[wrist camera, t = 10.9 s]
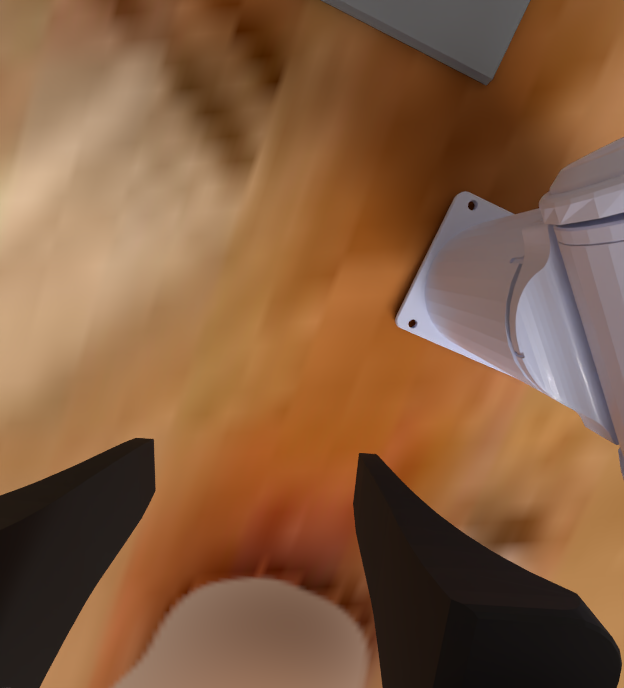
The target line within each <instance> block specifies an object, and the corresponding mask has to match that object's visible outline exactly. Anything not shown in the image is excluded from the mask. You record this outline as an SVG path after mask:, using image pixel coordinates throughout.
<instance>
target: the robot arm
mask: <svg viewBox="0 0 624 688" xmlns="http://www.w3.org/2000/svg"><path fill="white" fill-rule="evenodd" d="M470 201H471V202H473V203H474V209H473V210H470V209H469V208H468V203H469V202H470ZM412 319H414V320H415V322H416V323H415V325H414V326H413V327H409V325H408V323H409V321H410V320H412ZM395 322H396V324H397V326H399V327H400V328H402V329H404V330H406V331H409V332H411V333H413V334H416V335H418V336H420V337H422V338H425V339H427V340H429V341H432V342H434V343H436V344H439V345H441V346H443V347H445V348H448V349H450V350H452V351H455V352H457V353H459V354H462V355H464V356H466V357H468V358H471V359H473V360H475V361H478V362H480V363H482V364H485V365H487V366H489V367H491V368H494V369H496V370H498V371H501V372H503V373H505V374H508V375H510V376H512V377H514V378H517V379H519V380H521V381H523V382H524V383H526V384H528V385H530V386H532V387H533V388H535V389H537V390H539V391H541V392H542V393H544V394H546V395H548V396H550V397H551V398H553V399H555V400H556V401H558V402H560V403H562V404H564V405H565V406H567V407H569V408H571V409H573V410H575V411H576V412H577V413H578V414H579V416H580V417H581V418H582V421H583V423H584V425H585V426H586V427H587V428H589V429H590V430H592V431H594V432H595V433H597V434H599V435H600V436H602V437H604V438H605V439H607V440H609V441H611V442H612V443H614V444H616V445H620V448H619V450H618V453H619V459H620V466H621V473H622V476H623V479H624V137H622V138H620V139H618V140H616V141H614V142H612V143H610V144H608V145H606V146H604V147H602V148H600V149H598V150H596V151H594V152H592V153H590V154H588V155H586V156H584V157H582V158H580V159H578V160H576V161H575V162H573V163H571V164H569V165H568V166H566V167H564V168H563V169H562V170H561V171H560V172H559V174H558V175H557V177H556V179H555V180H554V182H553V184H552V185H551V187H550V191H549V192H547V193H546V194H544V195H543V196H542V198H541V199H540V201H539V208H538V209H534V210H530V211H526V212H522V213H518V214H513V213H511V212H509V211H507V210H505V209H503V208H501V207H499V206H497V205H495V204H492V203H490V202H488V201H486V200H484V199H482V198H480V197H478V196H476V195H474V194H472V193H470V192H466V191H465V192H461V193H459V194H457V195H456V196H455V198H454V199H453V201H452V203H451V205H450V207H449V209H448V211H447V213H446V215H445V217H444V220H443V222H442V224H441V226H440V228H439V230H438V232H437V234H436V236H435V238H434V240H433V242H432V244H431V246H430V248H429V250H428V252H427V254H426V256H425V258H424V260H423V262H422V264H421V266H420V268H419V270H418V272H417V275H416V277H415V279H414V281H413V283H412V285H411V287H410V289H409V291H408V293H407V295H406V297H405V299H404V301H403V303H402V305H401V307H400V309H399V311H398V313H397V315H396V318H395ZM154 493H155V463H154V439H145V438H135V439H132V440H129V441H127V442H124V443H122V444H120V445H118V446H116V447H113V448H111V449H109V450H107V451H105V452H103V453H101V454H99V455H96V456H94V457H92V458H90V459H88V460H86V461H84V462H82V463H79V464H77V465H75V466H73V467H70V468H68V469H66V470H64V471H61V472H59V473H57V474H54V475H52V476H50V477H48V478H45V479H43V480H40V481H38V482H36V483H33V484H30V485H28V486H25V487H23V488H20V489H17V490H14V491H12V492H9V493H6V494H3V495H0V688H39V687H40V686H41V684H42V682H43V680H44V678H45V676H46V674H47V672H48V670H49V668H50V666H51V665H52V663H53V661H54V659H55V657H56V655H57V653H58V651H59V650H60V648H61V646H62V644H63V642H64V640H65V638H66V636H67V635H68V633H69V631H70V629H71V627H72V626H73V624H74V622H75V620H76V619H77V617H78V615H79V613H80V611H81V610H82V608H83V606H84V604H85V603H86V601H87V599H88V597H89V596H90V594H91V593H92V591H93V590H94V588H95V586H96V585H97V583H98V582H99V580H100V579H101V577H102V576H103V574H104V573H105V571H106V570H107V569H108V567H109V566H110V564H111V563H112V561H113V560H114V558H115V557H116V555H117V554H118V552H119V551H120V550H121V548H122V547H123V545H124V544H125V542H126V541H127V539H128V538H129V536H130V535H131V533H132V532H133V530H134V529H135V527H136V526H137V524H138V523H139V521H140V520H141V518H142V516H143V515H144V513H145V511H146V509H147V507H148V505H149V503H150V501H151V499H152V497H153V495H154ZM353 507H354V518H355V527H356V534H357V539H358V544H359V548H360V553H361V557H362V562H363V566H364V571H365V575H366V580H367V584H368V589H369V594H370V598H371V603H372V609H373V614H374V621H375V629H376V636H377V644H378V652H379V660H380V668H381V677H382V685H383V688H617V685H618V682H619V678H620V673H621V667H622V661H621V655H620V650H619V648H618V646H617V644H616V643H615V641H614V639H613V638H612V636H611V635H610V634H609V633H608V631H607V630H606V629H605V628H604V626H603V625H602V624H601V623H600V621H599V620H598V619H597V618H596V616H595V615H594V614H593V613H592V612H591V610H590V609H589V608H588V607H587V605H586V604H585V603H584V602H583V600H582V599H581V598H580V597H579V596H578V595H577V594H576V593H574V592H572V591H570V590H568V589H565V588H563V587H561V586H559V585H557V584H555V583H553V582H550V581H548V580H546V579H544V578H542V577H540V576H537V575H535V574H533V573H531V572H529V571H527V570H525V569H523V568H522V567H520V566H518V565H516V564H514V563H512V562H510V561H509V560H507V559H505V558H503V557H501V556H500V555H498V554H496V553H494V552H493V551H491V550H489V549H488V548H486V547H484V546H483V545H481V544H480V543H478V542H477V541H475V540H474V539H472V538H470V537H469V536H467V535H466V534H464V533H463V532H462V531H460V530H459V529H457V528H456V527H454V526H453V525H452V524H450V523H449V522H448V521H447V520H445V519H444V518H443V517H441V516H440V515H439V514H437V513H436V512H435V511H434V510H433V509H431V508H430V507H429V506H428V505H427V504H426V503H424V502H423V501H422V500H421V499H420V498H419V497H418V496H417V495H416V494H415V493H413V492H412V491H411V490H410V489H409V488H408V487H407V486H406V485H405V484H404V483H403V482H402V481H401V480H400V479H399V478H398V477H397V476H396V475H395V473H394V472H393V471H392V470H391V469H390V468H389V467H388V466H387V465H386V464H385V463H384V462H383V461H382V459H381V458H380V457H379V456H378V455H377V454H366V453H359V459H358V467H357V476H356V484H355V493H354V501H353Z"/></svg>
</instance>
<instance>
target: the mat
mask: <svg viewBox="0 0 624 688" xmlns="http://www.w3.org/2000/svg"><path fill="white" fill-rule="evenodd" d="M321 1H323V2H325V3H327V4H329V5H331V6H333V7H335V8H337V9H339V10H341V11H343V12H345V13H347V14H349V15H351V16H353V17H354V18H356V19H358V20H360V21H362V22H364V23H366V24H368V25H370V26H372V27H374V28H376V29H378V30H380V31H382V32H384V33H386V34H388V35H389V36H391V37H393V38H395V39H397V40H399V41H401V42H403V43H405V44H407V45H409V46H411V47H413V48H415V49H417V50H419V51H421V52H422V53H424V54H426V55H428V56H430V57H432V58H434V59H436V60H438V61H440V62H442V63H444V64H446V65H448V66H450V67H452V68H454V69H456V70H457V71H459V72H461V73H463V74H465V75H467V76H469V77H471V78H473V79H475V80H477V81H479V82H481V83H483V84H485V85H487V84H488V83H489V82H490V81H491V80H492V79H493V77H494V75H495V73H496V71H497V69H498V67H499V65H500V63H501V61H502V58H503V56H504V54H505V52H506V50H507V48H508V46H509V44H510V42H511V40H512V38H513V35H514V33H515V31H516V29H517V27H518V25H519V23H520V21H521V19H522V17H523V15H524V12H525V10H526V8H527V6H528V4H529V2H530V0H321Z"/></svg>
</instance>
